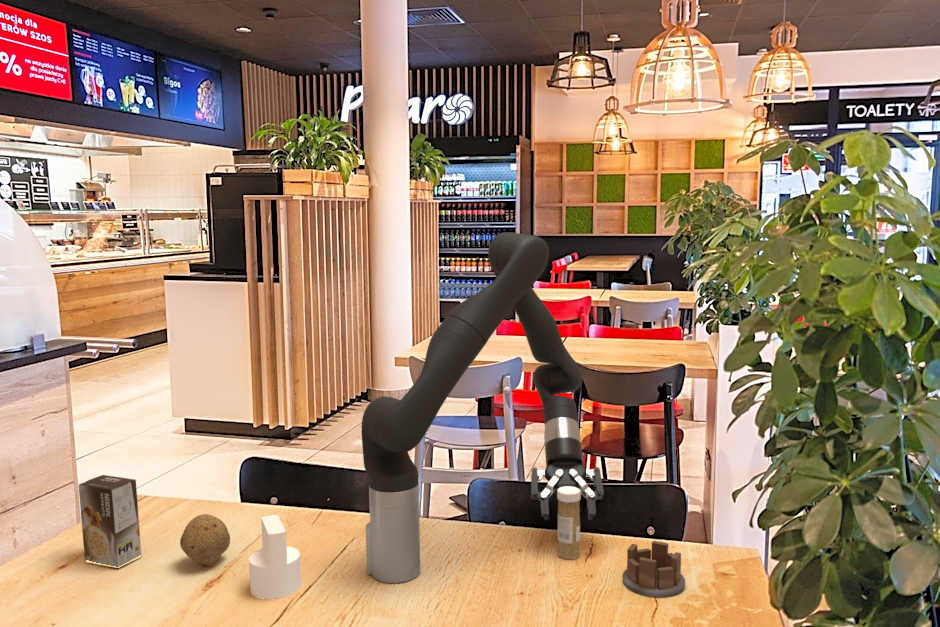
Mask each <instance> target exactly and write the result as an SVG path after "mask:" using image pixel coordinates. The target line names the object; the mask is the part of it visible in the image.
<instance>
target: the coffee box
mask: <svg viewBox="0 0 940 627" xmlns="http://www.w3.org/2000/svg"><path fill="white" fill-rule="evenodd" d="M78 495H79V506H80V517H81V529H82V541H83V542H82V543H83V553H84V561H85V560H89V561H92V562H96V563H101V564H106V565H111V566H116V567H119V566H121V565H123V564H125V563H127V562H129V561H130V560H132V559H134V558H136V557H138V556H139V555H141V556H142V547H141V534H140V531H141V530H140V520H139V519H140V518H139V507H138V506H139V505H138V504H139V503H138V491H137V479H134V478H128V477H126V478H125V477H121V476H120V477H119V476H113V475H107V474H106V475H105V474H102V475H99V476H96V477H93V478H91V479H88V480H87V481H85V482H81V483H78Z"/></svg>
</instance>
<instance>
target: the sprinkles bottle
mask: <svg viewBox="0 0 940 627" xmlns="http://www.w3.org/2000/svg"><path fill="white" fill-rule="evenodd" d="M581 496H582V495H581V491H580V489H579V488H576V487H572V486H564V487H560V488H558V490H556V499H557V545H558V547H557V556H559V558H562V559H564V560H565V559H566V560H574V559H578V558H579V557H580V556H581V544H580V543H581V516H580V510H581V509H580V508H581V507H580V501H581V499H582V498H581Z"/></svg>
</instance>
